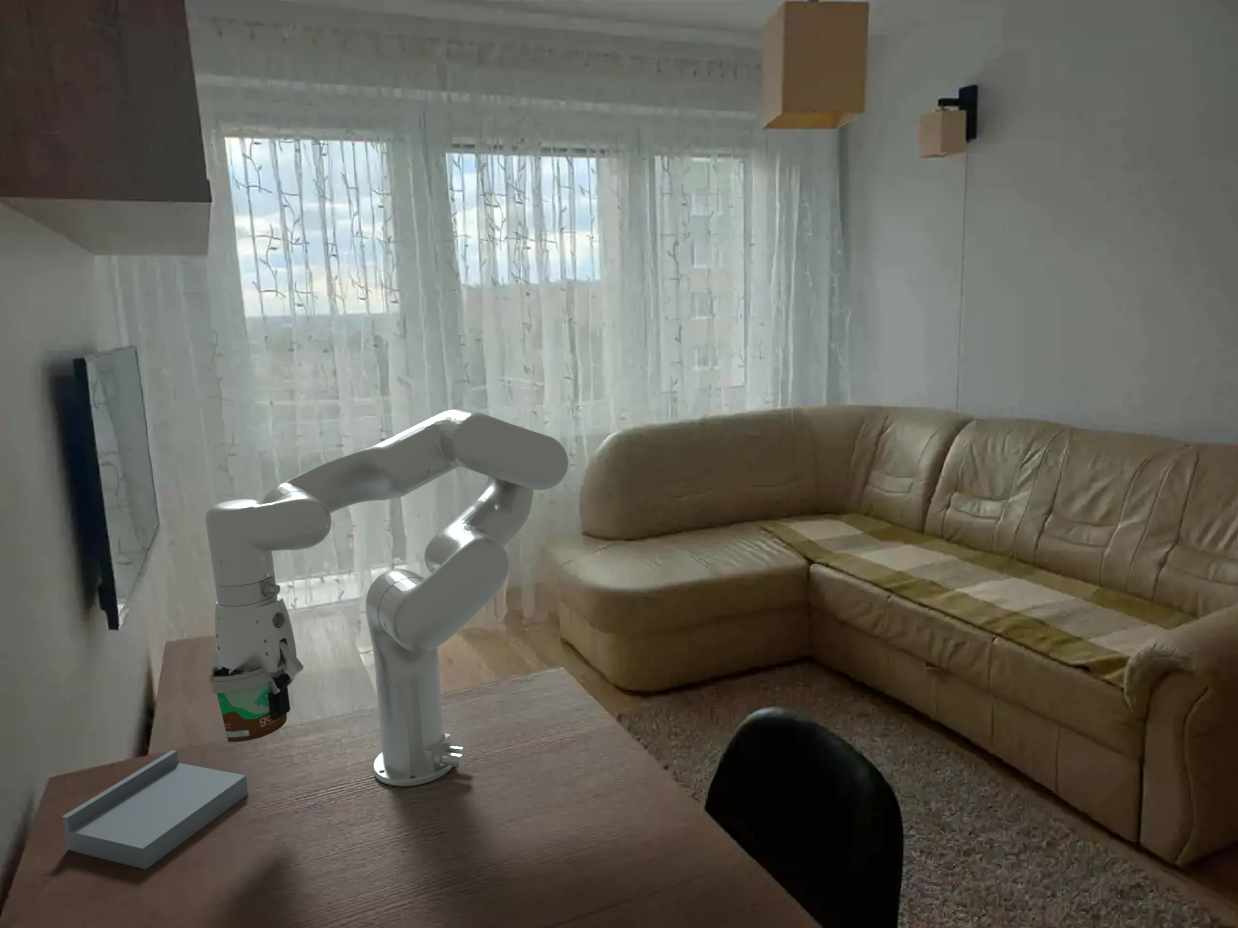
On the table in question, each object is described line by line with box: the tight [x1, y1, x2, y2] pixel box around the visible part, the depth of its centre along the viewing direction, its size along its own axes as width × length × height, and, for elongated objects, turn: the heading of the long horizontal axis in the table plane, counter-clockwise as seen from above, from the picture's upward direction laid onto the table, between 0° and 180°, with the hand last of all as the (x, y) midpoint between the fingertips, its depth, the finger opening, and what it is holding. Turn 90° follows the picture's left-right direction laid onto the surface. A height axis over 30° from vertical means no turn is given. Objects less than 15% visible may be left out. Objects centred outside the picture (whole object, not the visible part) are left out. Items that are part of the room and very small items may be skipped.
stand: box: [61, 749, 249, 870], centre depth 119 cm, size 14×18×5 cm
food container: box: [212, 663, 288, 743], centre depth 117 cm, size 12×6×10 cm, turn 167°
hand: (263, 711), depth 118 cm, fingers closed on food container, 5 cm apart
